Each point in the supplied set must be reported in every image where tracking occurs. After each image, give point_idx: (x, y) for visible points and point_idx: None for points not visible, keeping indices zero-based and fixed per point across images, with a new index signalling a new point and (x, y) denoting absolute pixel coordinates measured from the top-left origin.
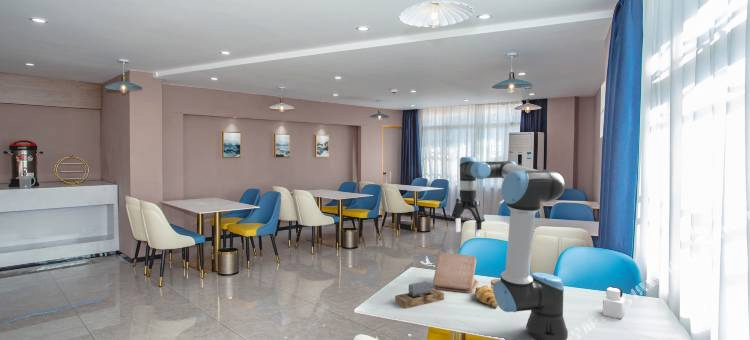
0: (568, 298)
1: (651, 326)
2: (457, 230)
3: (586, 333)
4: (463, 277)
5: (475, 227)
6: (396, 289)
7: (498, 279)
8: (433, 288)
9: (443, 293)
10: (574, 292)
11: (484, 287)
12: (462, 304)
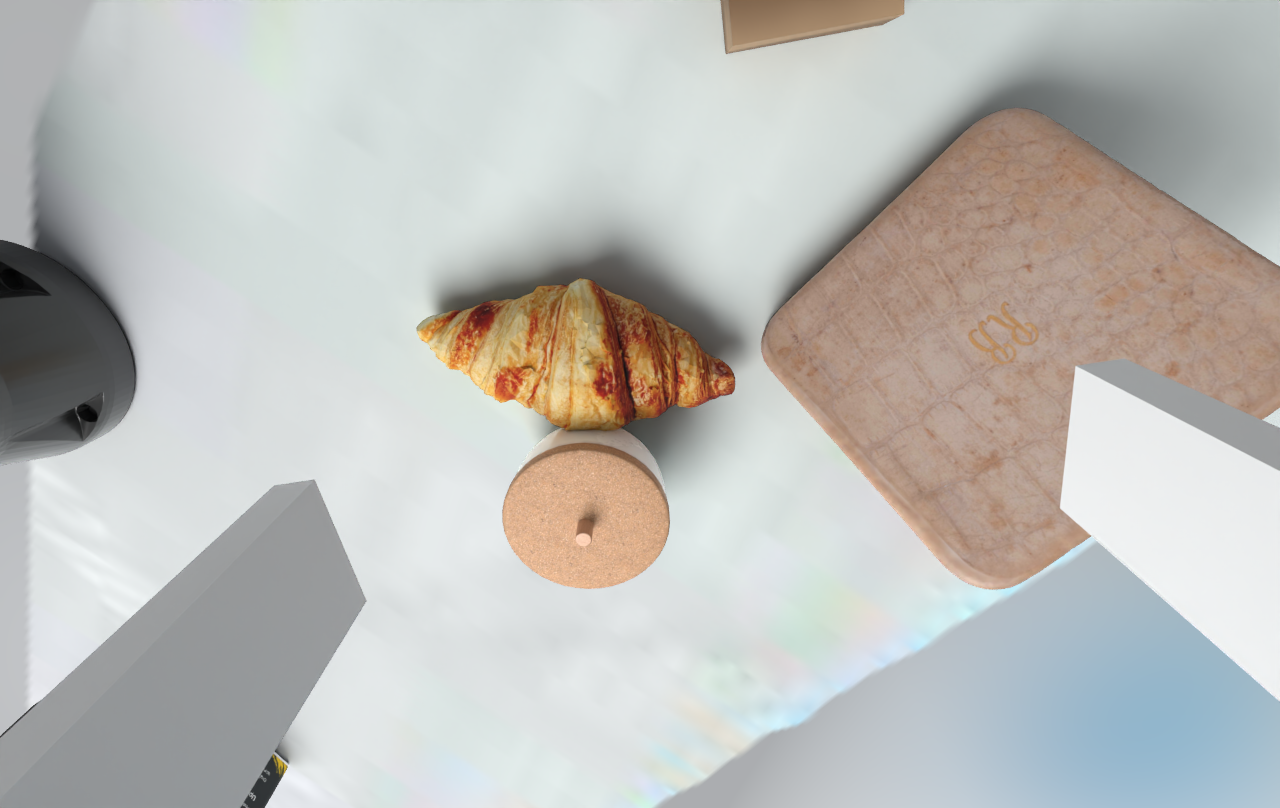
0: (474, 737)
1: None
2: (1098, 420)
3: (30, 523)
4: (871, 354)
5: (100, 677)
6: None
7: (642, 532)
8: (884, 14)
9: (731, 39)
10: (540, 804)
11: (579, 365)
12: (580, 143)
